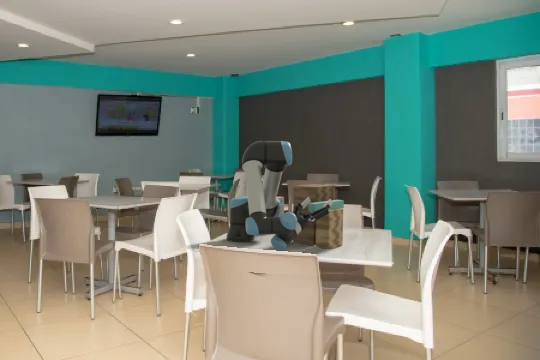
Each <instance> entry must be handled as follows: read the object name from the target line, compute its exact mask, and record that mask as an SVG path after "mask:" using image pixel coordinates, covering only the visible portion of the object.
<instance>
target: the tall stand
mask: <svg viewBox="0 0 540 360" xmlns="http://www.w3.org/2000/svg"><path fill="white" fill-rule="evenodd" d="M292 189H293V194H292V195H293V198H292V199H293V202H292V204H293V205H292V206H293V207H292V208H293V209H294V206H295V205H297V206H298V203H300V204H301V203H302V202H303V201H304V200H305V199H306V198H307V197H309V198H310V201H311V202H310V203H315V202H323V201H328V200H329V199H331V200H336V185H333V184H332V185H331V184H320V183H317V184H316V183H310V184H297V185H296V184H295V185H293V188H292ZM293 209H292V210H293ZM303 212H305V213H309V211H308V205H307V206H306V207H305V208H304V209H302V213H303ZM298 214H299V209H298V212H297V215H298ZM310 218H311V214H310ZM292 243H299V244H303V245H311V246H316V221H315V222H314V223H312V222H311V221H309V222H307V225H306V227H305V228H304V229H303V230H302V231H301V232H300V233H299V234H298V235H297V236H296V237H295V239H294V240H293V241H292Z"/></svg>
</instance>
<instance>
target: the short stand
mask: <svg viewBox="0 0 540 360" xmlns="http://www.w3.org/2000/svg"><path fill="white" fill-rule="evenodd" d="M328 211H329V214H327V215H325V216H323V217H322V218H320V219H318V220H316V245H315V247H316V248H321V249H325V248H326V250H330V248H331V249H335V248H338V247H343V241H344V240H343V236H344V235H343V234H344V231H343V230H344V229H343V227H344V208H341V209H334V210H328Z"/></svg>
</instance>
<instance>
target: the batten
mask: <svg viewBox="0 0 540 360" xmlns="http://www.w3.org/2000/svg"><path fill="white" fill-rule="evenodd" d="M326 203H327V201H323V202H315V203H308V211H309V212H314V211H316V210H319V209H321V208H323V206H324V205H325V204H326ZM332 203H333V204H332V205H331V206H330V208H329V209H328V210H334V209H344V208H345V207H344V205H345V201H344V200H343V199H342V200H341V199H335V200H332Z"/></svg>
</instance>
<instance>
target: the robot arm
mask: <svg viewBox="0 0 540 360" xmlns="http://www.w3.org/2000/svg"><path fill="white" fill-rule="evenodd" d="M292 163H293V149H292V146H291V143H290V142H289V141H286V140H285V141H284V140H279V141H278V140H257V141H254V142H253V143H251V144H250V145H249V146H248V147H247V148H246V149H245V150H244V153H243V155H242V158H241V168H242V170H243V171H244V176H245V177H244V178H245V186H246V195H244V196H237V197H236V196H235V197H233V198H231V199H230V201H229V227H228V229H227V230H228V231H227V233H226V241H229V242H234V243H235V242H236V243H237V242H240V243H241V242H242V243H244V242H246V243H247V242H252V241H255V236H258V235H259V236H261V235H272V237H271V239H270V244H271V246H272V248H274V249H275V250H276V251H279V252H282V251H284V250H285V249H287V248H288V246H289V245H290V244H291V243H293V240H294V239H295V237H296V236H297V235H298V234H299V233H300V232H301V231H302V230H303V229H304V228H305V227H306V225H307V222H309V221H311V222H312V223H314V222H315V221H316V220H318V219H320V218H322V217H323V216H325V215H327V214H329V211H328V209H329V208H330V206H331V205H332V204H333V203H332V200H331V199H329V200H328V201H327V203H326V204H325V205H324V206H323V208H321V209H319V210H316V211H314V212H309V213H305V212H303V213H302V209H304V208H305V207H306V206H307V205H308V203H310V202H311V201H310V198H309V197H307V198H306V199H305V200H304V201H303V202H302V203H301V204H300V203H298V206H297V205H295V206H294V209H292V212H290V211H284V213H283V214H282V215H281V217H278V216H279V213H280V201H279V199H278V198H277V197H278V196H277V195H278V192H279V187H280V183H281V180H282V175H283V172H284V171H285V170H287V167H288V166H291V165H292ZM263 166H264V168H265V170H264V175H262V168H263ZM262 176H263V177H262ZM298 209H299V214H298V215H297V212H298ZM310 214H311V218H310Z"/></svg>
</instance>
